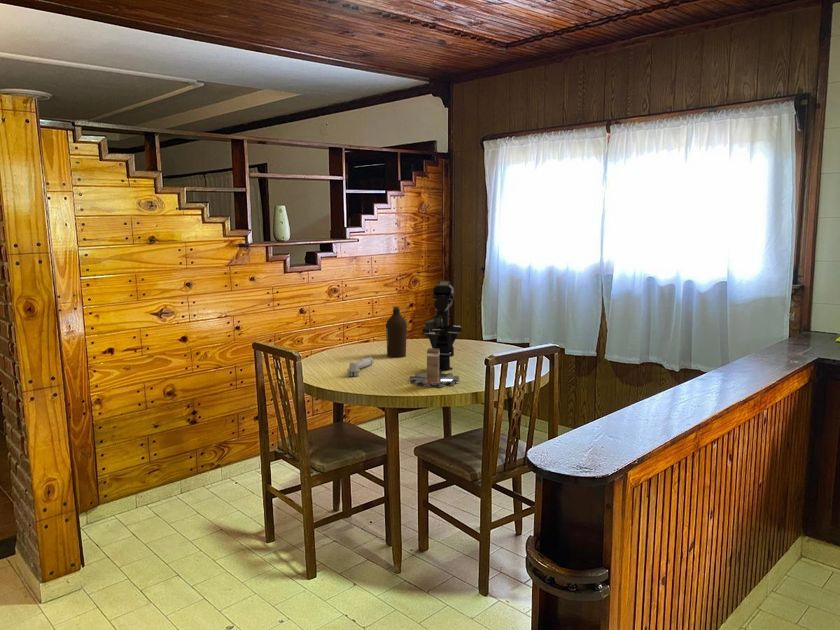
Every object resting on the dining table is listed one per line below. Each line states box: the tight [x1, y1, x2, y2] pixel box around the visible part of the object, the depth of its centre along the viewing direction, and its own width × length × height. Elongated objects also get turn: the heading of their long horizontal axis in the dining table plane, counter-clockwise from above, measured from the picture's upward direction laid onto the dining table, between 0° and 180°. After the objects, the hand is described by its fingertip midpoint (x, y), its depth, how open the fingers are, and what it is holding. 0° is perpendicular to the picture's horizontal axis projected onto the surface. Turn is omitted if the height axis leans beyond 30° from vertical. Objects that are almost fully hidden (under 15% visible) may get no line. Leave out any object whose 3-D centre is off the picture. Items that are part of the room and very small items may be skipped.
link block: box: [426, 347, 440, 382], centre depth 258 cm, size 5×5×13 cm
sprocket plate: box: [408, 371, 460, 389], centre depth 264 cm, size 21×21×2 cm
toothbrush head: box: [346, 356, 374, 377], centre depth 282 cm, size 5×7×25 cm
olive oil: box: [385, 305, 408, 359], centre depth 311 cm, size 11×11×25 cm
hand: (441, 349), depth 267 cm, fingers open, 9 cm apart
